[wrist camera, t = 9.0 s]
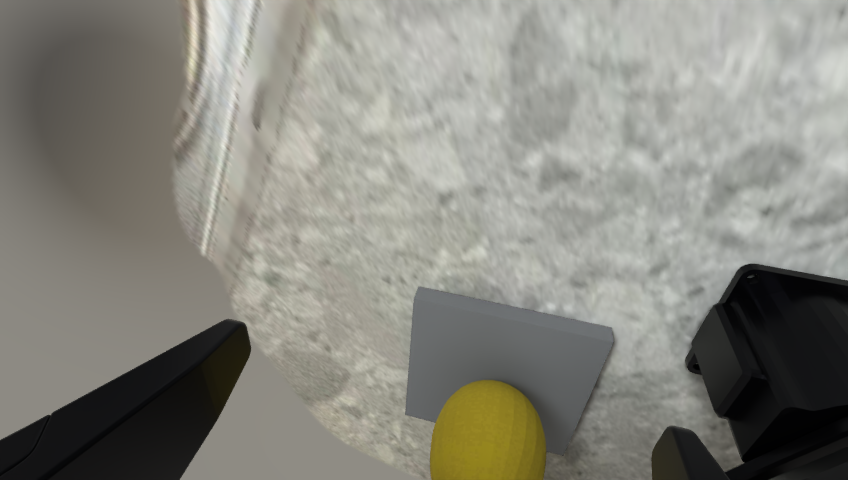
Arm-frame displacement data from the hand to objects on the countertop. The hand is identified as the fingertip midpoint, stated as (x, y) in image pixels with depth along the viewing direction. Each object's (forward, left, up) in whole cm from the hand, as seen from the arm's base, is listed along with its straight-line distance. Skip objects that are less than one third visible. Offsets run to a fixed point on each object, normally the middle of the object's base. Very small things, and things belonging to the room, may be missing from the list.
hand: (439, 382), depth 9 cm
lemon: (-2, +13, -11) cm, 17 cm away
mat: (-2, +13, -12) cm, 18 cm away
